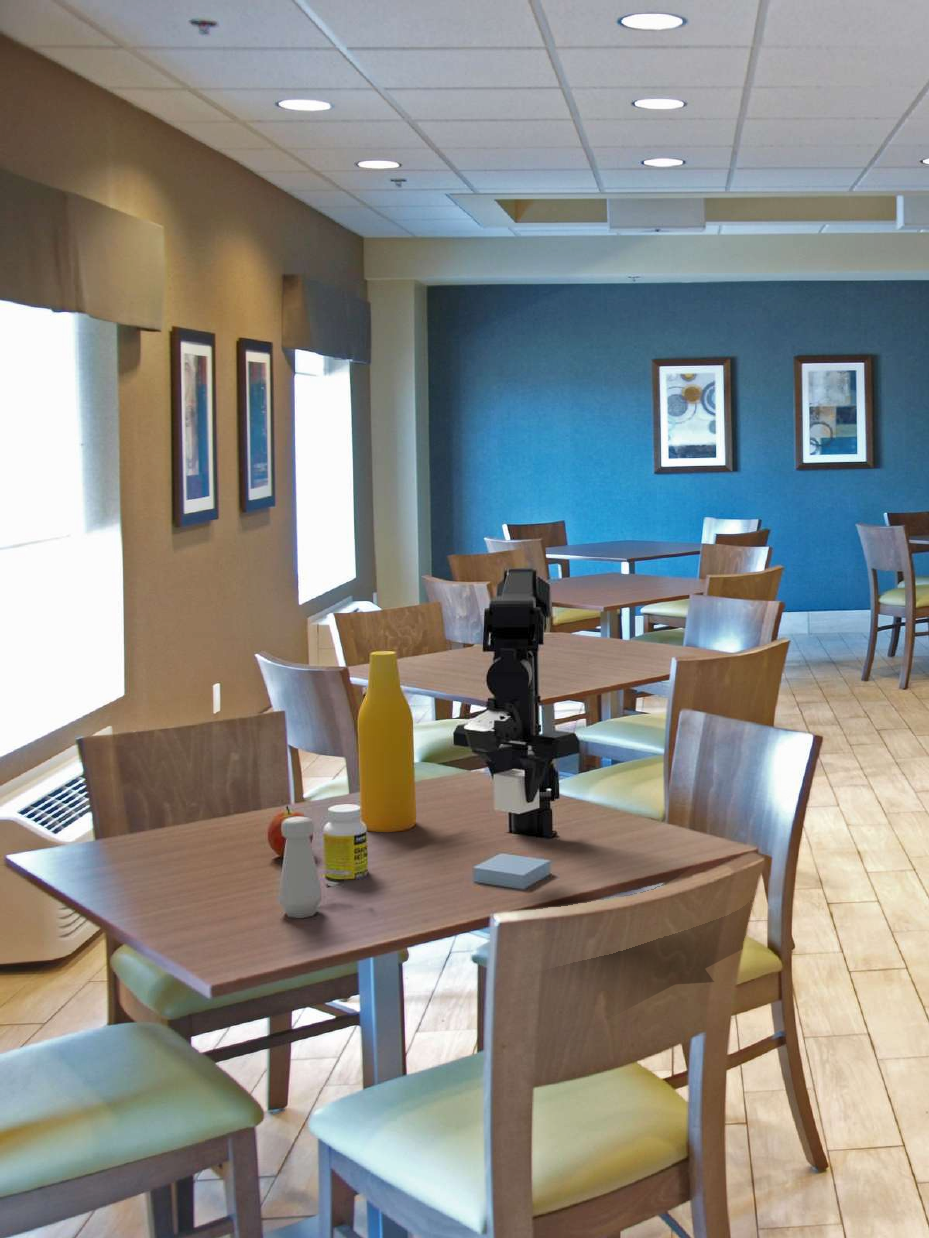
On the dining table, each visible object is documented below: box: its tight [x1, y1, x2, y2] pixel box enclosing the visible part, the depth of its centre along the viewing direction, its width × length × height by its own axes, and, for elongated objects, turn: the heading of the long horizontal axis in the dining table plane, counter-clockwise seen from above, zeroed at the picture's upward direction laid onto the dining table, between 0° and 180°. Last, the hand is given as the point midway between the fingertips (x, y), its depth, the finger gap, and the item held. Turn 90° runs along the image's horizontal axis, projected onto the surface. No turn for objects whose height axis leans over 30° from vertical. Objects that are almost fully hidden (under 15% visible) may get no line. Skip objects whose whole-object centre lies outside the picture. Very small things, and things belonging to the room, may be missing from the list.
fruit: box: [267, 805, 314, 858], centre depth 211 cm, size 7×7×8 cm
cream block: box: [492, 769, 539, 814], centre depth 192 cm, size 4×4×5 cm
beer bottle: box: [357, 650, 417, 833], centre depth 227 cm, size 9×9×29 cm
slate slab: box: [472, 853, 551, 890], centre depth 193 cm, size 8×8×2 cm
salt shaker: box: [278, 816, 323, 919], centre depth 184 cm, size 6×6×13 cm
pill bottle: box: [323, 803, 369, 887], centre depth 197 cm, size 6×6×11 cm
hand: (516, 799), depth 192 cm, fingers closed on cream block, 4 cm apart
